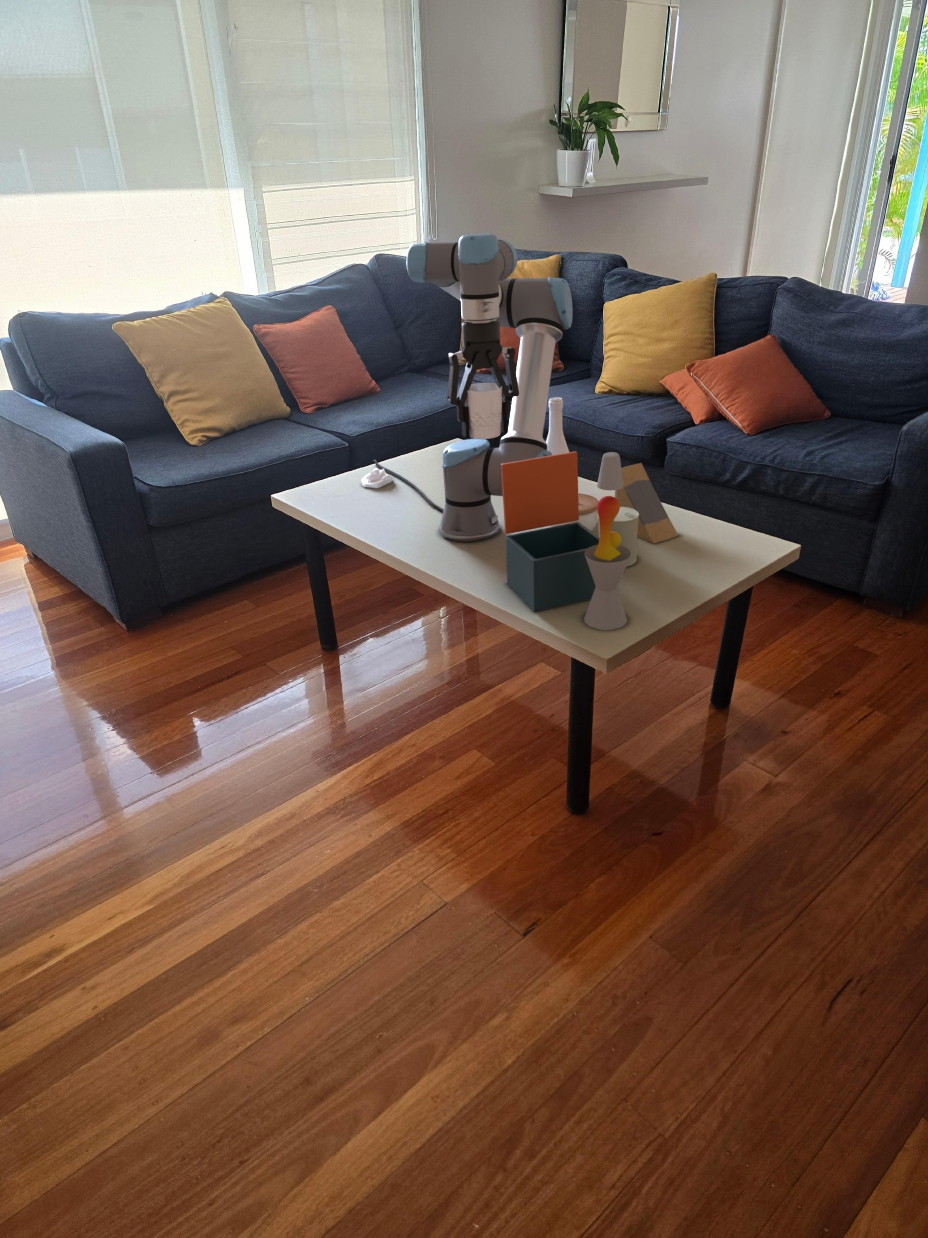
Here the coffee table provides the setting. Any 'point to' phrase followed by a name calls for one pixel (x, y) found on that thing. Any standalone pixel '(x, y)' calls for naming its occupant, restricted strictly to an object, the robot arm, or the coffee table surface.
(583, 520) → the lidded bowl
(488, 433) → the white cup
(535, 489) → the lid
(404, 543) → the coffee table surface
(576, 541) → the container
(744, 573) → the coffee table surface
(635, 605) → the coffee table surface
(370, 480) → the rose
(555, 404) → the wine bottle
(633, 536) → the can
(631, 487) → the sandwich container
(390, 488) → the coffee table surface
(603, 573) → the lava lamp
